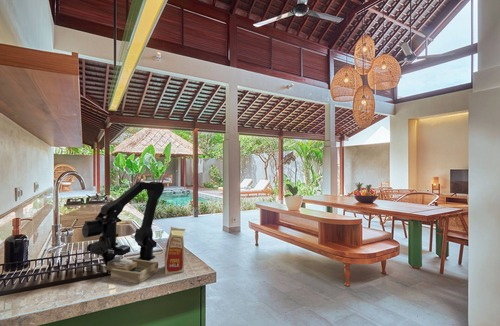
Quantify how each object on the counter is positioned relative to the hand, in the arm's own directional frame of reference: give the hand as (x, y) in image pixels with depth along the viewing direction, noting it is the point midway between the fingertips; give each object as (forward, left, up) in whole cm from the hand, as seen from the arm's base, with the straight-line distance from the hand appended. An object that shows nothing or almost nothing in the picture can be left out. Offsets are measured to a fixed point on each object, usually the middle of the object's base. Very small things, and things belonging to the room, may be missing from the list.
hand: (108, 267), depth 118 cm
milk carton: (-11, +27, -2) cm, 29 cm away
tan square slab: (0, +7, -2) cm, 7 cm away
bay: (0, +14, -2) cm, 14 cm away
